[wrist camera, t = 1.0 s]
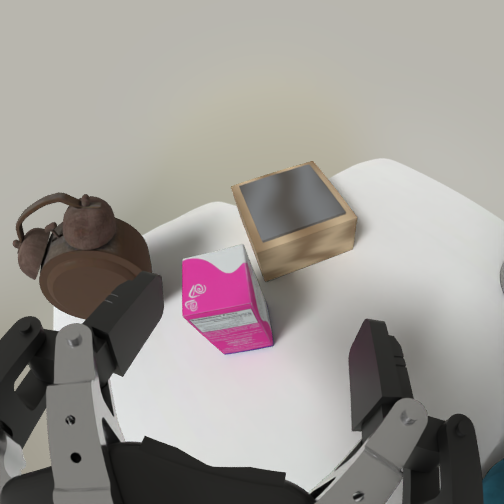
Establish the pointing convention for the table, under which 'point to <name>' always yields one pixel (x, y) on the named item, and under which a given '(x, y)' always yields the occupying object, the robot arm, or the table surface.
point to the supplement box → (226, 300)
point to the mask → (494, 485)
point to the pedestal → (294, 219)
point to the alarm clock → (81, 253)
